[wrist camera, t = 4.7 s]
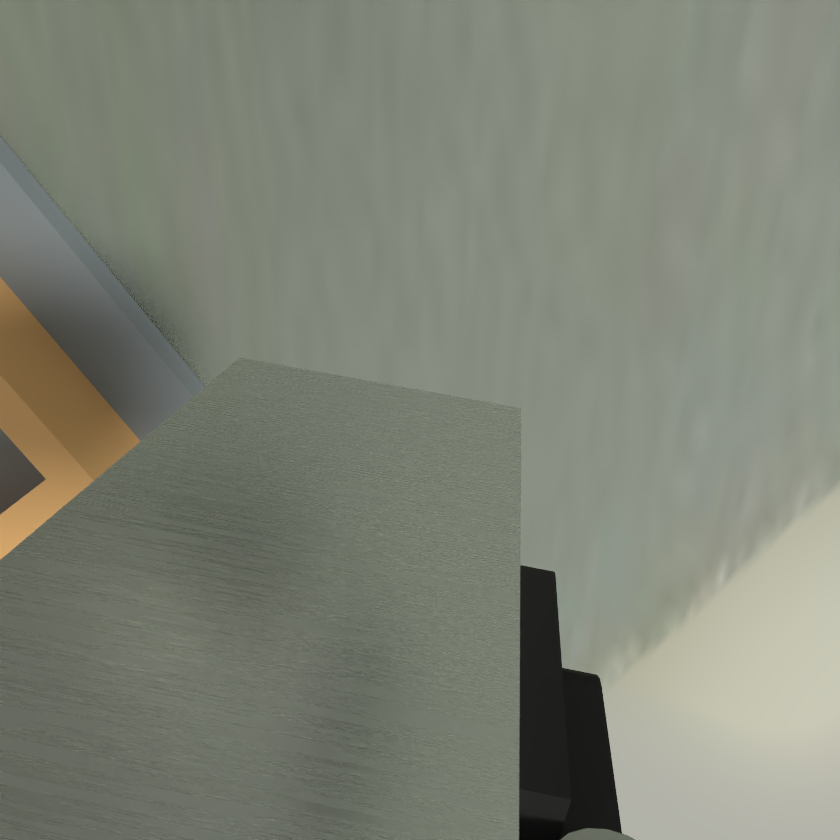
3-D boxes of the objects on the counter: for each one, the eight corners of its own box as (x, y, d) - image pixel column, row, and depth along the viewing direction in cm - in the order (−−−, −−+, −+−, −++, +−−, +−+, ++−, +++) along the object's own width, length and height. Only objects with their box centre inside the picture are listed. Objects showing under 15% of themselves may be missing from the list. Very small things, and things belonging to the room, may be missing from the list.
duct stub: (520, 408, 13) (513, 2055, 2) (471, 643, 15) (324, 2173, 4) (239, 358, 14) (-1156, 1539, 2) (225, 593, 15) (-579, 1882, 4)
